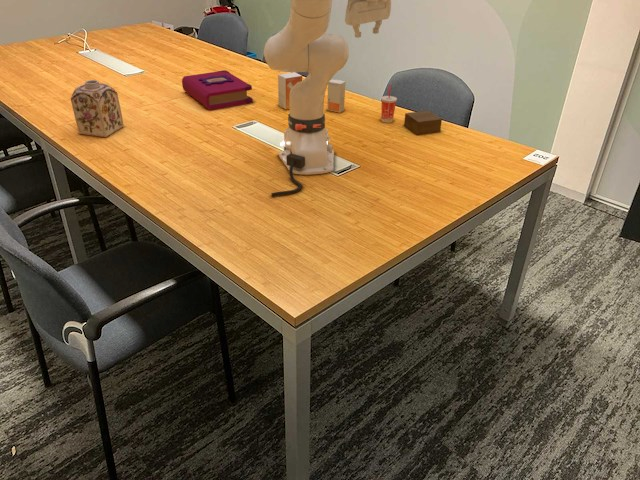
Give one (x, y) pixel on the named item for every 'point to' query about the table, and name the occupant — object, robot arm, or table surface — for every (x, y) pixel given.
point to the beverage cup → (388, 107)
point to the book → (217, 89)
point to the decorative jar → (96, 109)
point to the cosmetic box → (336, 95)
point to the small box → (286, 87)
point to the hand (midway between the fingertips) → (366, 35)
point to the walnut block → (422, 122)
